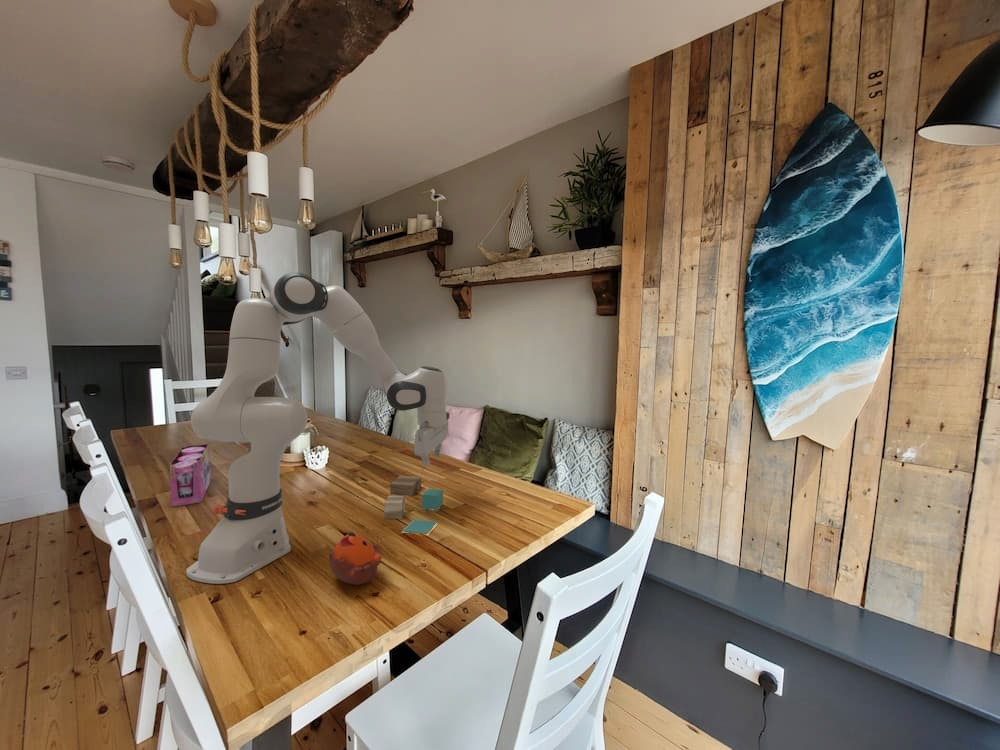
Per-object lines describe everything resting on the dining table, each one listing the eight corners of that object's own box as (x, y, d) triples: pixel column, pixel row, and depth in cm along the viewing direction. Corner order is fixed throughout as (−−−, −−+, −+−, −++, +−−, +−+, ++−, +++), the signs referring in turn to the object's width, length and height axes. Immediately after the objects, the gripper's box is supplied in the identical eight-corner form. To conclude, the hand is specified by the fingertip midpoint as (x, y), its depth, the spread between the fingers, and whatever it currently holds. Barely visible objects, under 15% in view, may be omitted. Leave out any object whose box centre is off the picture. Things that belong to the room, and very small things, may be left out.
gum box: (201, 504, 130) (198, 462, 128) (169, 509, 126) (166, 466, 125) (211, 479, 151) (209, 443, 149) (184, 483, 147) (181, 446, 145)
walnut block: (412, 496, 139) (412, 485, 139) (390, 494, 140) (390, 483, 140) (421, 488, 147) (421, 477, 146) (399, 486, 148) (399, 475, 148)
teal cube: (437, 511, 128) (437, 496, 127) (422, 509, 129) (422, 494, 128) (442, 504, 133) (442, 490, 132) (428, 503, 134) (428, 488, 133)
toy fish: (319, 582, 91) (318, 533, 90) (359, 560, 100) (358, 516, 99) (353, 602, 85) (352, 550, 84) (392, 577, 94) (392, 530, 92)
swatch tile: (428, 537, 112) (428, 534, 112) (401, 533, 114) (401, 531, 114) (438, 523, 120) (438, 521, 120) (413, 520, 122) (413, 518, 121)
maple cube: (401, 518, 123) (401, 502, 122) (384, 518, 122) (384, 502, 122) (404, 511, 128) (404, 495, 127) (388, 511, 127) (388, 495, 127)
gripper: (429, 427, 118) (429, 473, 120) (451, 411, 138) (451, 451, 139) (408, 425, 119) (408, 471, 121) (433, 410, 139) (433, 450, 141)
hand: (431, 460), depth 130 cm, fingers open, 8 cm apart
